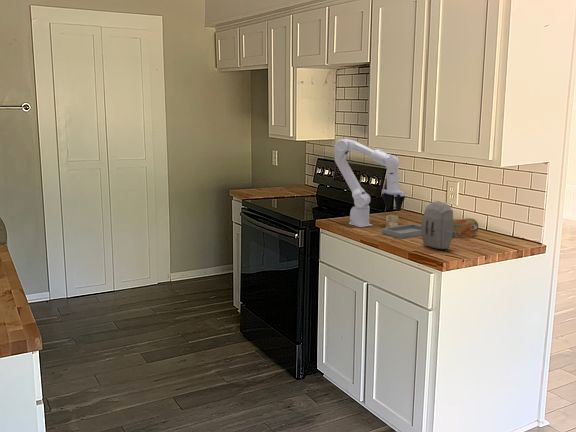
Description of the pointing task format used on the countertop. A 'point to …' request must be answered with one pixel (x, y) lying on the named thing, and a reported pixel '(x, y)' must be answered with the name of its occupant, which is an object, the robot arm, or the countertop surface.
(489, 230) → the countertop surface
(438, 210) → the grey rounded bag
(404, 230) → the tray
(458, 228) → the tin
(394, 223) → the block
